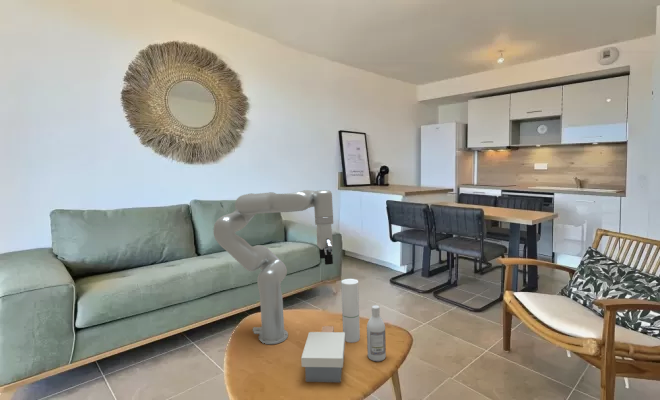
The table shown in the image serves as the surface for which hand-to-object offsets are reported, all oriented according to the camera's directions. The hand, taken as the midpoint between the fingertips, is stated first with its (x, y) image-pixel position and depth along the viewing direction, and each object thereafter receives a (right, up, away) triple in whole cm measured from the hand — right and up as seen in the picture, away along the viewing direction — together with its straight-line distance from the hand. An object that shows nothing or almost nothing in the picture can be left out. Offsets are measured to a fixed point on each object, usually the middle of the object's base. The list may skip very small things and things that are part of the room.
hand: (326, 261), depth 141 cm
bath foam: (+20, -35, -11) cm, 42 cm away
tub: (0, -36, -17) cm, 40 cm away
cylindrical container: (+11, -34, +4) cm, 36 cm away
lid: (0, -30, -15) cm, 33 cm away
